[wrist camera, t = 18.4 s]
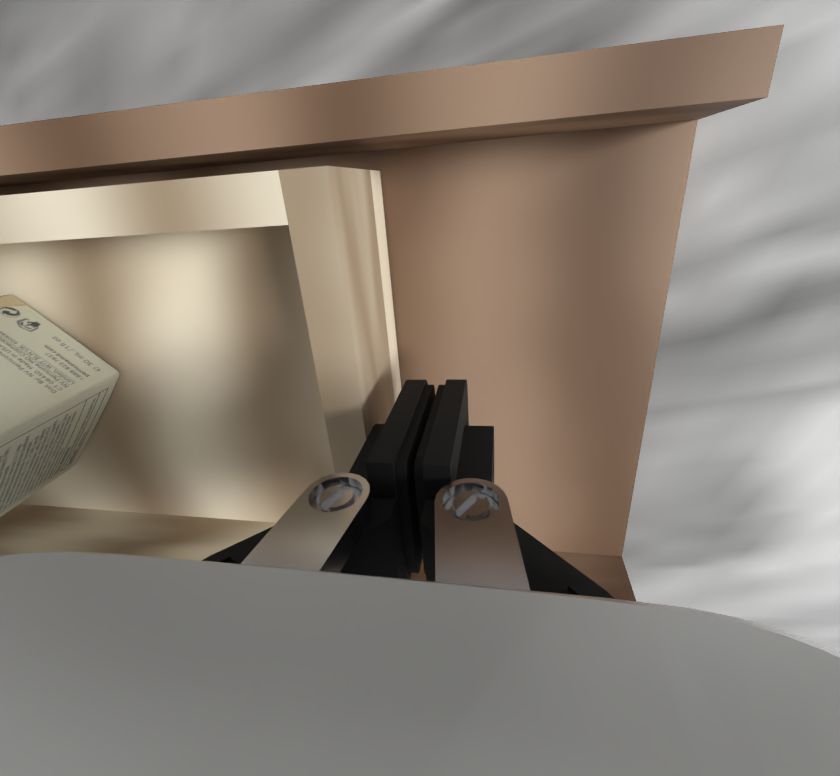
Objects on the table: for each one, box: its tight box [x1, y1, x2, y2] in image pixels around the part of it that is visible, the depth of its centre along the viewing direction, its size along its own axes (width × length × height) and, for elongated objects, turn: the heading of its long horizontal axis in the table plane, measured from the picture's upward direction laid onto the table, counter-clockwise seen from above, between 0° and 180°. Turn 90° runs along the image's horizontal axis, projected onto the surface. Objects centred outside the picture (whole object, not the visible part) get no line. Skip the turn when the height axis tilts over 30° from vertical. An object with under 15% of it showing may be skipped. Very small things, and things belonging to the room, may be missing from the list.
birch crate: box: [0, 166, 401, 561], centre depth 14 cm, size 20×13×4 cm, turn 94°
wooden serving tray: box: [0, 25, 784, 602], centre depth 14 cm, size 29×16×5 cm, turn 94°
